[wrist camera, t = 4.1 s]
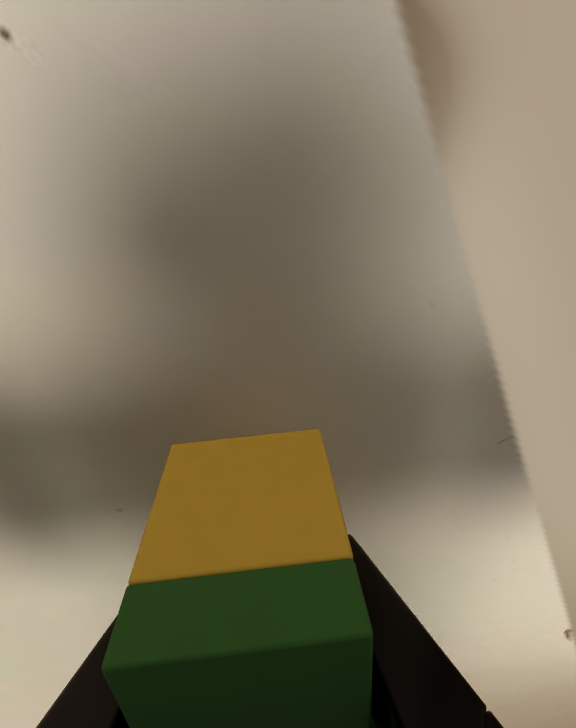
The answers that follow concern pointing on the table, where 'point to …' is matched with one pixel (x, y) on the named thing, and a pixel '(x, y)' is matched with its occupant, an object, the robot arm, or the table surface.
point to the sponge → (244, 595)
